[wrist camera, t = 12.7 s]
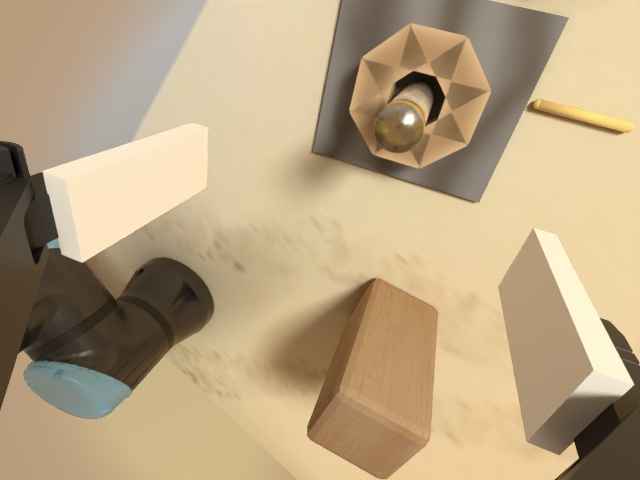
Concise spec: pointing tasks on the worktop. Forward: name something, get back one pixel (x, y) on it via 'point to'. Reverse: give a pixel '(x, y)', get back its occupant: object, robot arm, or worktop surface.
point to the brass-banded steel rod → (404, 117)
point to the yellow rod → (583, 116)
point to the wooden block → (379, 383)
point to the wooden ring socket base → (434, 84)
